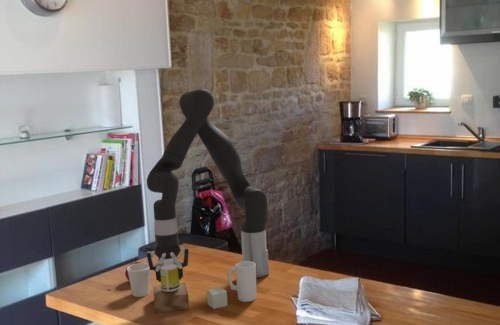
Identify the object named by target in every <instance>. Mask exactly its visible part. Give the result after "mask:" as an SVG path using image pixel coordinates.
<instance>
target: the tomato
mask: <svg viewBox="0 0 500 325" xmlns="http://www.w3.org/2000/svg"><path fill="white" fill-rule="evenodd" d="M137 263H143V262H141V261H135V262H131V263H129V264H128V265H127V267H128V266H130V265H133V264H137ZM127 267H126V269H125V272H124V274H125V278H126V279H127V281H128V282H130V280H129V275H128V271H127Z"/></svg>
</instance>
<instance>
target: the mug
mask: <svg viewBox="0 0 500 325" xmlns="http://www.w3.org/2000/svg"><path fill="white" fill-rule="evenodd" d="M255 265H256V264H255V263H254V262H250V261H243V260H242V261H240V262H239V261H238V262H236V263H235V265H234V266H235V267H234V266H229V270H228V273H227V281H228V284H229V286H230V290H233V291H237V300H239V301H240V302H243V303H249V302H253V301H255V300H256V299H257V278H256V266H255ZM232 272H235V278H236V284H234V283H233V281H232V278H231V277H232Z"/></svg>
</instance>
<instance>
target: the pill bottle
mask: <svg viewBox="0 0 500 325" xmlns="http://www.w3.org/2000/svg"><path fill="white" fill-rule="evenodd" d="M160 279H161V282H160V285H161V289H162V291H164V292H173V291H176V290H178V289H179V287H180V284H179V283H180V280H179V271H178V266H177V264H176V263H175V261H174V260H173V258H167V259H164V260H163V263H162V265H161V267H160Z"/></svg>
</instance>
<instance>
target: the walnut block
mask: <svg viewBox="0 0 500 325" xmlns="http://www.w3.org/2000/svg"><path fill="white" fill-rule="evenodd" d="M179 284H180V287H179V289H178V290H176V291H173V292H164V291H162V289H161V284H160V285H152V286H153V287H152V288H153V289H152V290H153V300H154V302H153V303H154V312H155V313H156V314H157V313H165V312H173V311H182V310H189V309H190V303H189V293H188V292H189V291H188V289H187V283H186V282H179Z"/></svg>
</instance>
